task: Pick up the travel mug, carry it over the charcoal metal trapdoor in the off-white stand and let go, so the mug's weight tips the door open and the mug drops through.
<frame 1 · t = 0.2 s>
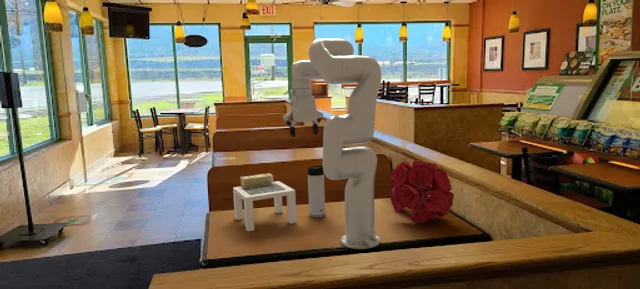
hand: (304, 135, 179), 31 cm above the table, tool pointing down, fingers open, 9 cm apart
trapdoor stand: (265, 220, 171), on the table
travel mug: (317, 216, 175), on the table
bouquet: (417, 218, 167), on the table
trapdoor: (261, 184, 171), point 14 cm above the table, hinge at 0.0°
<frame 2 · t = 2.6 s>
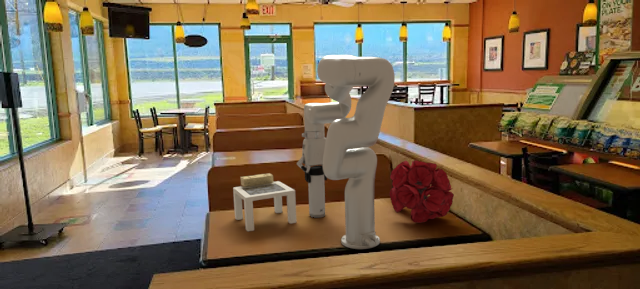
hand: (316, 180, 173), 14 cm above the table, tool pointing down, fingers closed on travel mug, 6 cm apart
travel mug: (317, 215, 175), on the table, touching gripper
everything else where it was.
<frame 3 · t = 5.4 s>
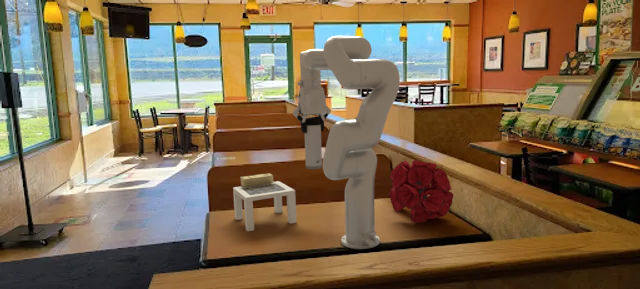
hand: (312, 131, 169), 33 cm above the table, tool pointing down, fingers closed on travel mug, 6 cm apart
travel mug: (314, 168, 171), point 19 cm above the table, touching gripper
everything else where it was.
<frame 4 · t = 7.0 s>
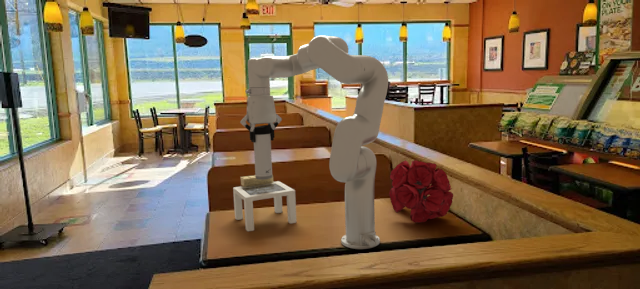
hand: (262, 140, 164), 31 cm above the table, tool pointing down, fingers closed on travel mug, 6 cm apart
travel mug: (264, 178, 166), point 17 cm above the table, touching gripper
everything else where it was.
when the fingers open (29 cm above the table, at t = 8.1 s): travel mug drops 3 cm, point 12 cm above the table.
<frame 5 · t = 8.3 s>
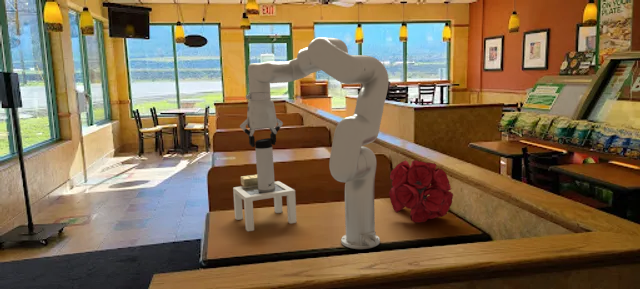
hand: (263, 145, 164), 30 cm above the table, tool pointing down, fingers open, 7 cm apart
travel mug: (267, 191, 167), point 12 cm above the table, touching gripper
trapdoor: (261, 185, 171), point 14 cm above the table, hinge at -3.2°
everything else where it was.
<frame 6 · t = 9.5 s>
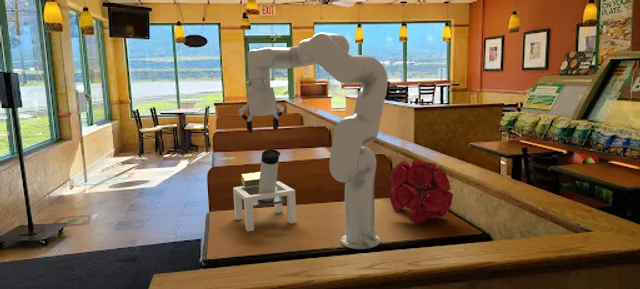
hand: (263, 131, 163), 35 cm above the table, tool pointing down, fingers open, 9 cm apart
travel mug: (266, 197, 168), point 9 cm above the table, touching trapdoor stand
trapdoor: (262, 188, 171), point 12 cm above the table, hinge at -23.0°
everything else where it was.
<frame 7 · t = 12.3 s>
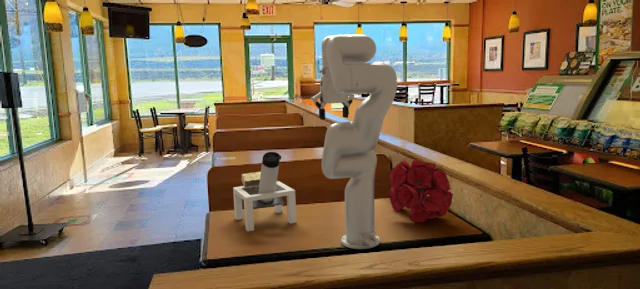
hand: (334, 118, 167), 38 cm above the table, tool pointing down, fingers open, 9 cm apart
travel mug: (266, 197, 169), point 9 cm above the table, touching trapdoor, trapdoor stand
trapdoor: (262, 189, 171), point 12 cm above the table, hinge at -27.7°, touching travel mug
everything else where it was.
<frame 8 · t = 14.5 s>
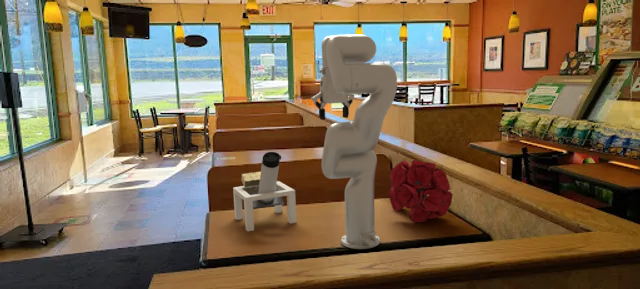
hand: (334, 118, 167), 38 cm above the table, tool pointing down, fingers open, 9 cm apart
nothing on the table moved.
at the end: travel mug point 9.1 cm above the table; travel mug inside the target area on the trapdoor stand (1.4 cm from its centre), point 9.1 cm above the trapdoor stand's base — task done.
